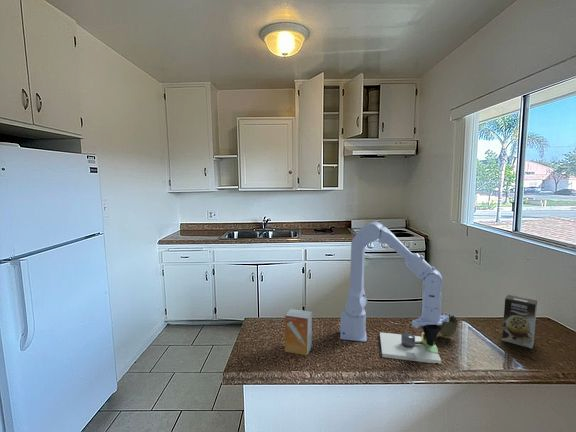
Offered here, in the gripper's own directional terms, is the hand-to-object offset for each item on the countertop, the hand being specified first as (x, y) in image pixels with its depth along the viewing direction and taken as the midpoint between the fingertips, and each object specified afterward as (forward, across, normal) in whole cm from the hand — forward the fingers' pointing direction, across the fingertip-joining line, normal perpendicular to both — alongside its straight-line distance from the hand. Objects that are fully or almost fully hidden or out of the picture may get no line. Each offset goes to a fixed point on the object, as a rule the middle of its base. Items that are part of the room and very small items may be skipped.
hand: (429, 344), depth 107 cm
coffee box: (+3, +36, -6) cm, 37 cm away
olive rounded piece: (+3, +14, +6) cm, 15 cm away
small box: (+3, -41, +18) cm, 45 cm away
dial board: (+3, -5, +4) cm, 7 cm away
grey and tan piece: (+1, -2, +3) cm, 4 cm away
